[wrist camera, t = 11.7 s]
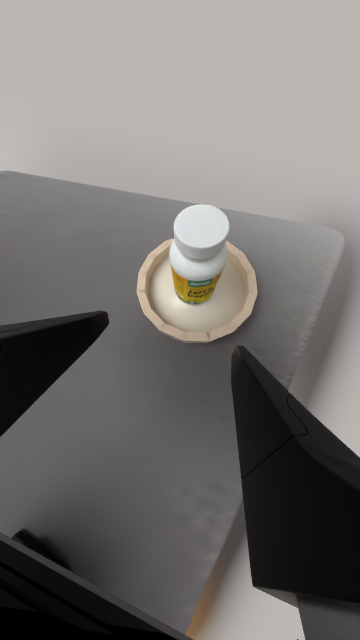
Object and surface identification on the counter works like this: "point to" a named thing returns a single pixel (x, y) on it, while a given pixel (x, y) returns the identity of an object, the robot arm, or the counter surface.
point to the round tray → (205, 319)
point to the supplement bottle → (198, 252)
